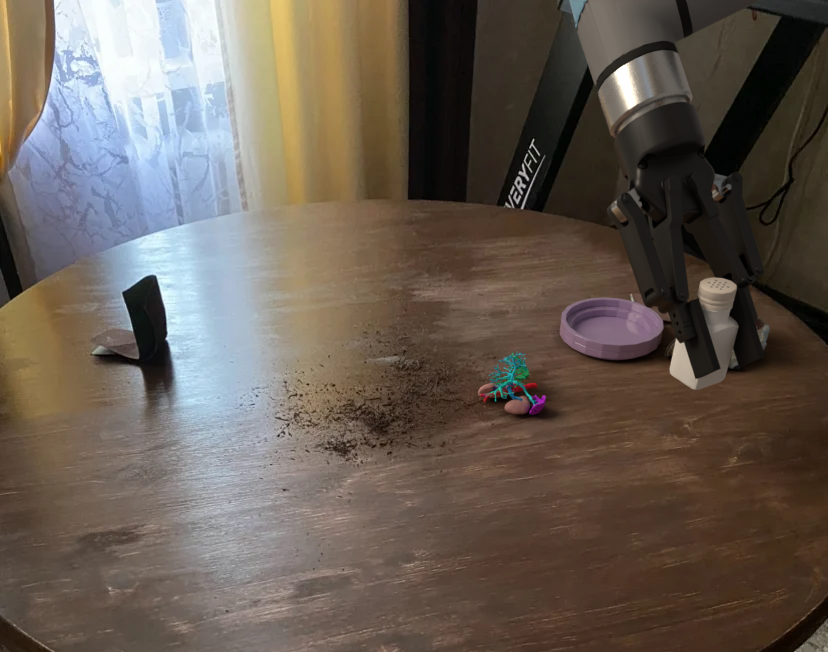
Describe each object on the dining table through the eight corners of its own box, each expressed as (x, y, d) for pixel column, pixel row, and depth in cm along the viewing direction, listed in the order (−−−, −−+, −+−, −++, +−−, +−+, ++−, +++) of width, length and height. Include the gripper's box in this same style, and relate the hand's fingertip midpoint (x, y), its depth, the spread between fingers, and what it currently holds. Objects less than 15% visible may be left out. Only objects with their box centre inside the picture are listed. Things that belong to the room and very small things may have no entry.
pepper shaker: (694, 394, 78) (717, 298, 72) (665, 374, 81) (685, 281, 75) (726, 382, 80) (752, 288, 73) (697, 364, 82) (719, 271, 76)
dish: (657, 319, 107) (661, 301, 106) (661, 368, 98) (665, 348, 97) (561, 312, 109) (563, 294, 107) (556, 359, 100) (558, 340, 98)
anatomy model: (497, 394, 86) (554, 372, 87) (461, 359, 91) (515, 339, 93) (500, 434, 89) (555, 412, 91) (465, 398, 95) (517, 378, 96)
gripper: (704, 132, 82) (776, 359, 82) (551, 158, 77) (628, 400, 77) (755, 85, 75) (835, 334, 74) (590, 110, 70) (675, 377, 69)
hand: (730, 367), depth 76 cm, fingers closed on pepper shaker, 4 cm apart
